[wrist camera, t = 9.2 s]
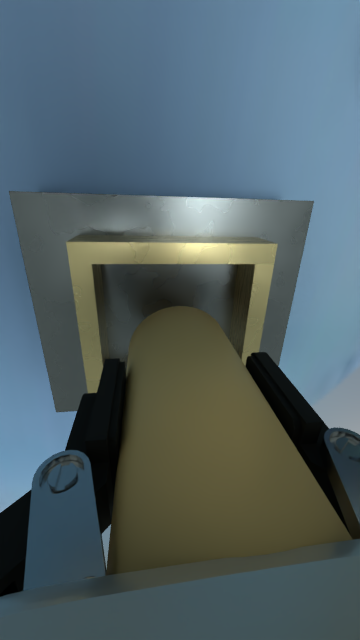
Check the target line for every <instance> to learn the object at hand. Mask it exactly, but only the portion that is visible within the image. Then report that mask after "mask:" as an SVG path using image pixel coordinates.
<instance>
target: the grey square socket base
mask: <svg viewBox="0 0 360 640" xmlns="http://www.w3.org/2000/svg"><path fill="white" fill-rule="evenodd" d="M9 195H10V199H11V204H12V208H13V213H14V218H15V222H16V227H17V232H18V236H19V241H20V246H21V250H22V255H23V260H24V264H25V269H26V274H27V278H28V283H29V288H30V292H31V297H32V302H33V306H34V311H35V316H36V320H37V325H38V330H39V334H40V339H41V344H42V348H43V353H44V358H45V362H46V367H47V371H48V376H49V381H50V385H51V390H52V395H53V399H54V404H55V409H56V412H68V411H78V408H79V405H80V401H81V398H82V396H83V394H84V393H97V390H98V386H99V382H100V378H101V374H102V370H103V365H104V361H105V359H115V358H119V359H120V362H125V368H126V371H127V361H128V351H129V344H130V340H131V337H132V335H133V333H134V331H135V330H136V328H137V327H138V325H139V324H140V323H141V322H142V321H143V320H144V319H146V318H147V317H148V316H150V315H151V314H153V313H155V312H157V311H159V310H161V309H164V308H168V307H174V306H188V307H193V308H197V309H200V310H202V311H204V312H206V313H207V314H209V315H210V316H212V317H213V318H214V319H215V320H216V321H217V322H218V324H219V325H220V327H221V328H222V330H223V331H224V333H225V335H226V336H227V338H228V339H229V341H230V343H231V344H232V346H233V348H234V349H235V351H236V352H237V354H238V356H239V357H240V359H241V360H242V362H243V364H244V365H245V366H246V359H247V357H248V356H251V353H253V352H266V353H267V354H268V355H269V356H270V357H271V358H272V360H273V361H274V362H275V363H276V365H277V366H278V365H279V361H280V356H281V352H282V347H283V342H284V338H285V333H286V328H287V324H288V319H289V314H290V310H291V305H292V301H293V296H294V291H295V287H296V282H297V277H298V273H299V268H300V263H301V259H302V254H303V249H304V245H305V240H306V236H307V231H308V226H309V222H310V217H311V212H312V208H313V203H314V201H294V200H263V199H233V198H202V197H171V196H141V195H110V194H79V193H48V192H18V191H9Z"/></svg>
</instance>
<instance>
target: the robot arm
mask: <svg viewBox="0 0 360 640" xmlns="http://www.w3.org/2000/svg"><path fill="white" fill-rule="evenodd" d="M245 367H246V368H247V370H248V372H249V373H250V375H251V376H252V378H253V380H254V381H255V383H256V384H257V386H258V388H259V389H260V391H261V393H262V394H263V396H264V397H265V399H266V401H267V402H268V404H269V405H270V407H271V409H272V410H273V412H274V413H275V415H276V417H277V418H278V420H279V421H280V423H281V425H282V426H283V428H284V429H285V431H286V433H287V434H288V436H289V438H290V439H291V441H292V442H293V444H294V446H295V447H296V449H297V450H298V452H299V454H300V455H301V457H302V458H303V460H304V462H305V463H306V465H307V466H308V468H309V470H310V471H311V473H312V474H313V476H314V478H315V479H316V481H317V483H318V484H319V486H320V487H321V489H322V491H323V492H324V494H325V495H326V497H327V499H328V500H329V502H330V503H331V505H332V507H333V508H334V510H335V511H336V513H337V515H338V516H339V518H340V519H341V521H342V523H343V524H344V526H345V528H346V529H347V531H348V532H349V534H350V536H351V537H352V539H353V540H347V541H340V542H333V543H325V544H318V545H311V546H304V547H299V548H296V549H292V550H288V551H283V552H278V553H272V554H266V555H257V556H248V557H233V558H221V559H214V560H207V561H200V562H194V563H187V564H180V565H174V566H167V567H160V568H154V569H147V570H140V571H134V572H127V573H120V574H114V575H108V576H106V571H107V570H106V563H105V556H104V549H103V541H102V533H103V532H104V531H105V529H107V528H108V526H109V525H110V524H111V521H112V511H113V501H114V491H115V481H116V471H117V465H118V457H119V447H120V437H121V426H122V416H123V406H124V396H125V385H126V368H125V362H120V359H119V358H115V359H105V361H104V365H103V370H102V374H101V378H100V382H99V386H98V390H97V393H84V394H83V396H82V398H81V401H80V405H79V408H78V411H77V414H76V417H75V420H74V423H73V427H72V430H71V433H70V436H69V439H68V442H67V446H66V449H65V451H62V452H59V453H57V454H54V455H52V456H51V457H50V458H48V459H47V460H45V461H44V462H43V463H42V464H41V465H40V466H39V468H38V469H37V471H36V473H35V474H34V477H33V481H32V490H30V491H29V492H28V493H26V494H25V495H24V496H22V497H21V498H20V499H18V500H17V501H16V502H14V503H13V504H12V505H10V506H9V507H8V508H6V509H5V510H4V511H2V512H1V513H0V640H360V435H359V434H357V433H355V432H353V431H350V430H348V429H344V428H331V429H329V428H328V427H327V426H326V425H325V423H324V422H323V421H322V419H321V418H320V417H319V416H318V414H317V413H316V412H315V411H314V410H313V408H312V407H311V406H310V405H309V403H308V402H307V401H306V400H305V399H304V397H303V396H302V395H301V394H300V393H299V391H298V390H297V389H296V388H295V386H294V385H293V384H292V383H291V382H290V380H289V379H288V378H287V377H286V375H285V374H284V373H283V372H282V371H281V369H280V368H279V367H278V366H277V365H276V363H275V362H274V361H273V360H272V358H271V357H270V356H269V355H268V354H267V353H266V352H253V353H251V356H248V357H247V359H246V366H245Z"/></svg>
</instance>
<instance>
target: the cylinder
mask: <svg viewBox="0 0 360 640" xmlns="http://www.w3.org/2000/svg"><path fill="white" fill-rule="evenodd" d="M347 540H353V539H352V537H351V536H350V534H349V532H348V531H347V529H346V528H345V526H344V524H343V523H342V521H341V519H340V518H339V516H338V515H337V513H336V511H335V510H334V508H333V507H332V505H331V503H330V502H329V500H328V499H327V497H326V495H325V494H324V492H323V491H322V489H321V487H320V486H319V484H318V483H317V481H316V479H315V478H314V476H313V474H312V473H311V471H310V470H309V468H308V466H307V465H306V463H305V462H304V460H303V458H302V457H301V455H300V454H299V452H298V450H297V449H296V447H295V446H294V444H293V442H292V441H291V439H290V438H289V436H288V434H287V433H286V431H285V429H284V428H283V426H282V425H281V423H280V421H279V420H278V418H277V417H276V415H275V413H274V412H273V410H272V409H271V407H270V405H269V404H268V402H267V401H266V399H265V397H264V396H263V394H262V393H261V391H260V389H259V388H258V386H257V384H256V383H255V381H254V380H253V378H252V376H251V375H250V373H249V372H248V370H247V368H246V367H245V365H244V364H243V362H242V360H241V359H240V357H239V356H238V354H237V352H236V351H235V349H234V348H233V346H232V344H231V343H230V341H229V339H228V338H227V336H226V335H225V333H224V331H223V330H222V328H221V327H220V325H219V324H218V322H217V321H216V320H215V319H214V318H213V317H212V316H210V315H209V314H207V313H206V312H204V311H202V310H200V309H197V308H193V307H188V306H174V307H168V308H164V309H161V310H159V311H157V312H155V313H153V314H151V315H150V316H148V317H147V318H146V319H144V320H143V321H142V322H141V323H140V324H139V325H138V327H137V328H136V330H135V331H134V333H133V335H132V337H131V340H130V344H129V351H128V361H127V371H126V385H125V396H124V406H123V416H122V426H121V437H120V447H119V457H118V465H117V471H116V481H115V491H114V501H113V511H112V521H111V532H110V541H109V551H108V561H107V571H106V576H108V575H114V574H120V573H127V572H134V571H140V570H147V569H154V568H160V567H167V566H174V565H180V564H187V563H194V562H200V561H207V560H214V559H221V558H233V557H248V556H257V555H266V554H272V553H278V552H283V551H288V550H292V549H296V548H299V547H304V546H311V545H318V544H325V543H333V542H340V541H347Z"/></svg>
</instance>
